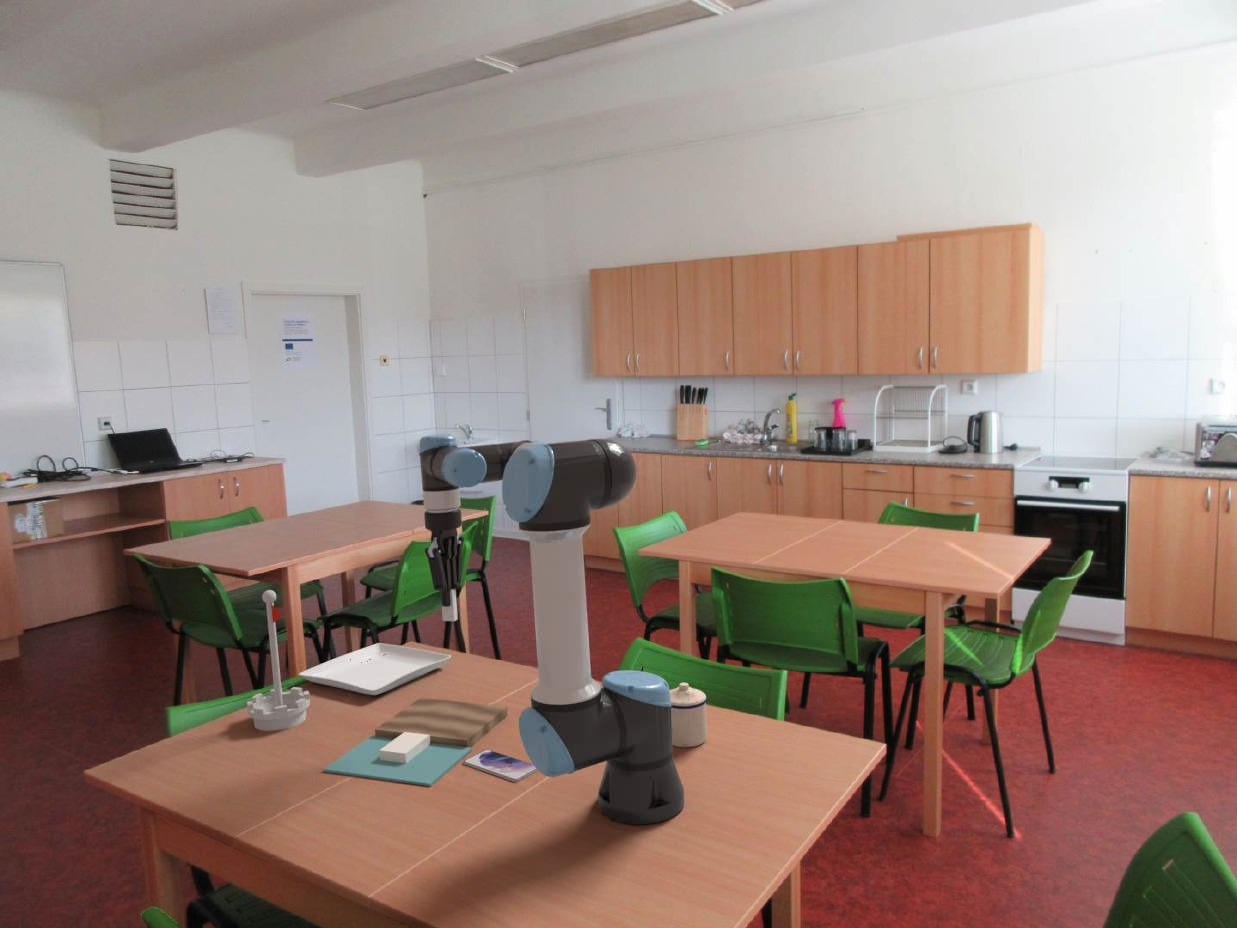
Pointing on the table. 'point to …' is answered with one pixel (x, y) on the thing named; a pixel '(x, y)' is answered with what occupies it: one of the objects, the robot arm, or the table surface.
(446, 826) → the table surface
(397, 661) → the square plate
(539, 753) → the robot arm
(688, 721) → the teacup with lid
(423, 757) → the teal mat
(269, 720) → the flag stand
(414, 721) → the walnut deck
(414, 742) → the ceramic tile
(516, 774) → the smartphone
